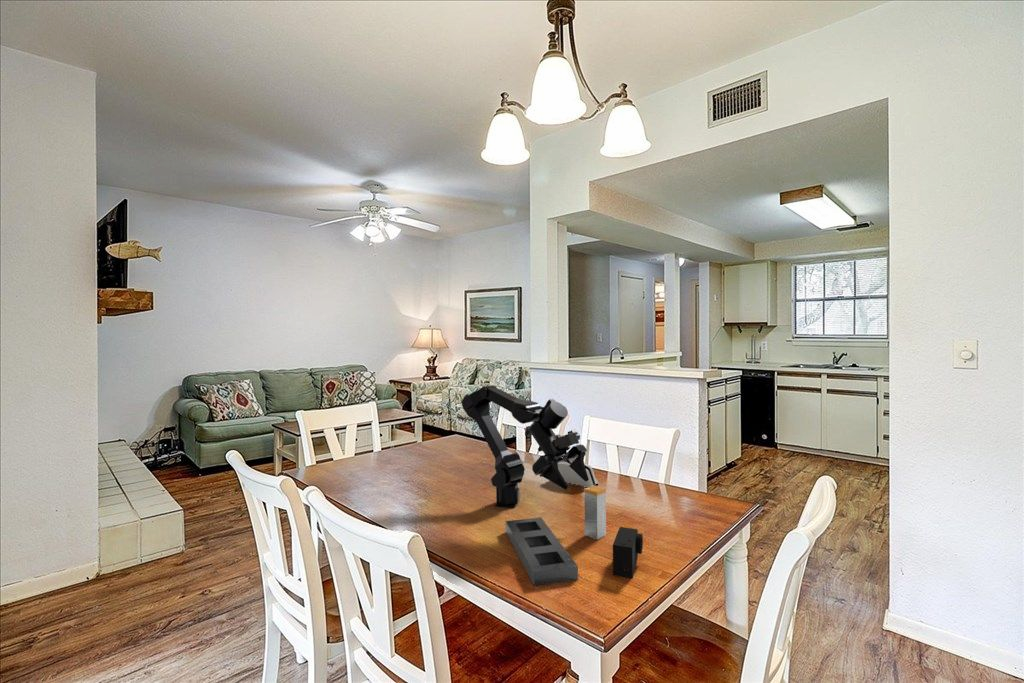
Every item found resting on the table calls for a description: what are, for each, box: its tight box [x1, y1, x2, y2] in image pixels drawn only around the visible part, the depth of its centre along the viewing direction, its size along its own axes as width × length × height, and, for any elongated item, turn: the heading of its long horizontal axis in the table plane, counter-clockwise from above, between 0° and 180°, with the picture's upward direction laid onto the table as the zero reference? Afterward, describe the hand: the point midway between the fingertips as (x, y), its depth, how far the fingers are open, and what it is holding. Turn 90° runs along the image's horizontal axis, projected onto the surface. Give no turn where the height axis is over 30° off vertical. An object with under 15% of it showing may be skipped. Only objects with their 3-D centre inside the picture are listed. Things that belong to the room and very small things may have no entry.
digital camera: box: [612, 526, 644, 579], centre depth 109 cm, size 10×5×7 cm, turn 159°
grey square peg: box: [583, 485, 607, 541], centre depth 126 cm, size 4×4×12 cm
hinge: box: [558, 460, 599, 488], centre depth 168 cm, size 17×5×10 cm, turn 51°
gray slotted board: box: [505, 517, 579, 587], centre depth 116 cm, size 28×10×3 cm, turn 13°
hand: (577, 484), depth 130 cm, fingers open, 9 cm apart
